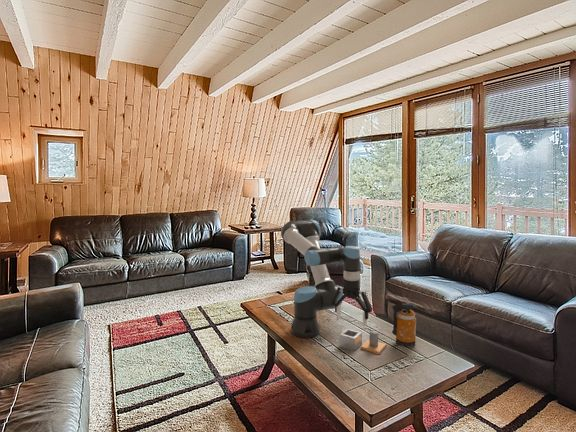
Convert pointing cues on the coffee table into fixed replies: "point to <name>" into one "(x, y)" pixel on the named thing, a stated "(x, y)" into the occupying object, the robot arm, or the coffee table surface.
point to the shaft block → (373, 344)
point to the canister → (404, 324)
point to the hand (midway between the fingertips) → (351, 322)
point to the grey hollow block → (350, 339)
